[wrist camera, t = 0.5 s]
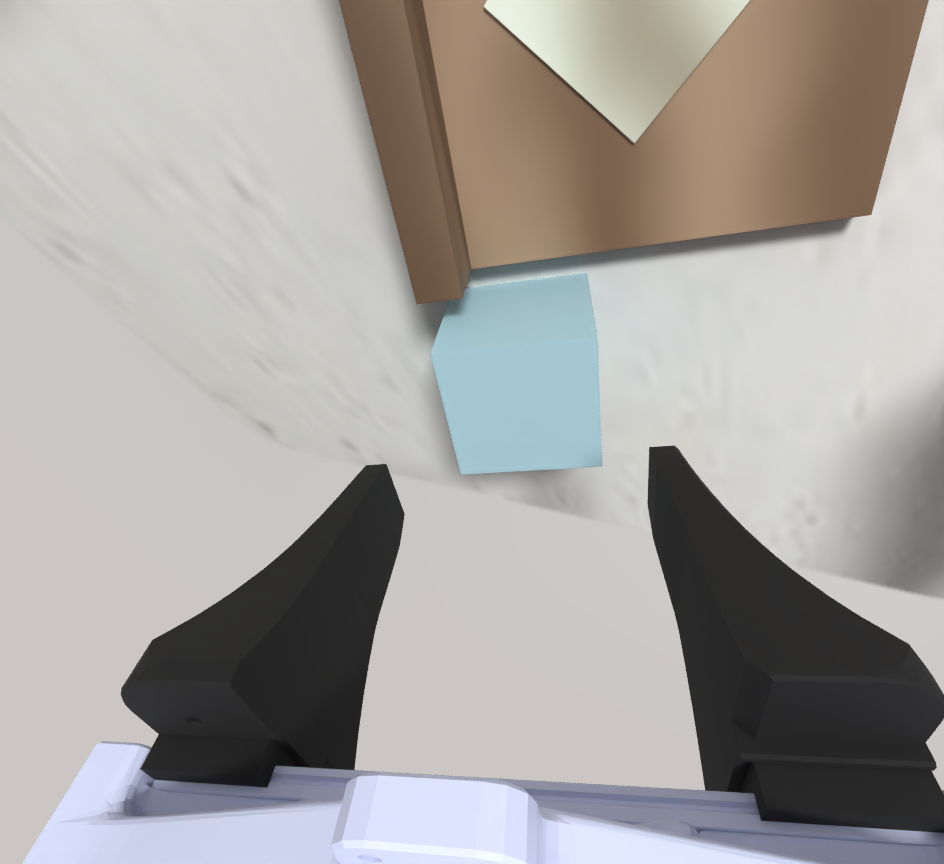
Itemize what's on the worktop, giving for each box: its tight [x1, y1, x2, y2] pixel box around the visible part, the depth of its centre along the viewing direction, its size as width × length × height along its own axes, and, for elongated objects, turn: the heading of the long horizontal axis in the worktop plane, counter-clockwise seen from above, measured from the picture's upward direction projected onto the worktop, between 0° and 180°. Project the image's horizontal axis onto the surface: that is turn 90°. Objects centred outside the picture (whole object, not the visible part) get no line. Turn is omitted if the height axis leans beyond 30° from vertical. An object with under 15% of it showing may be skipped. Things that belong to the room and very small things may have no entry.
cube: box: [430, 273, 602, 474], centre depth 19 cm, size 5×5×5 cm
